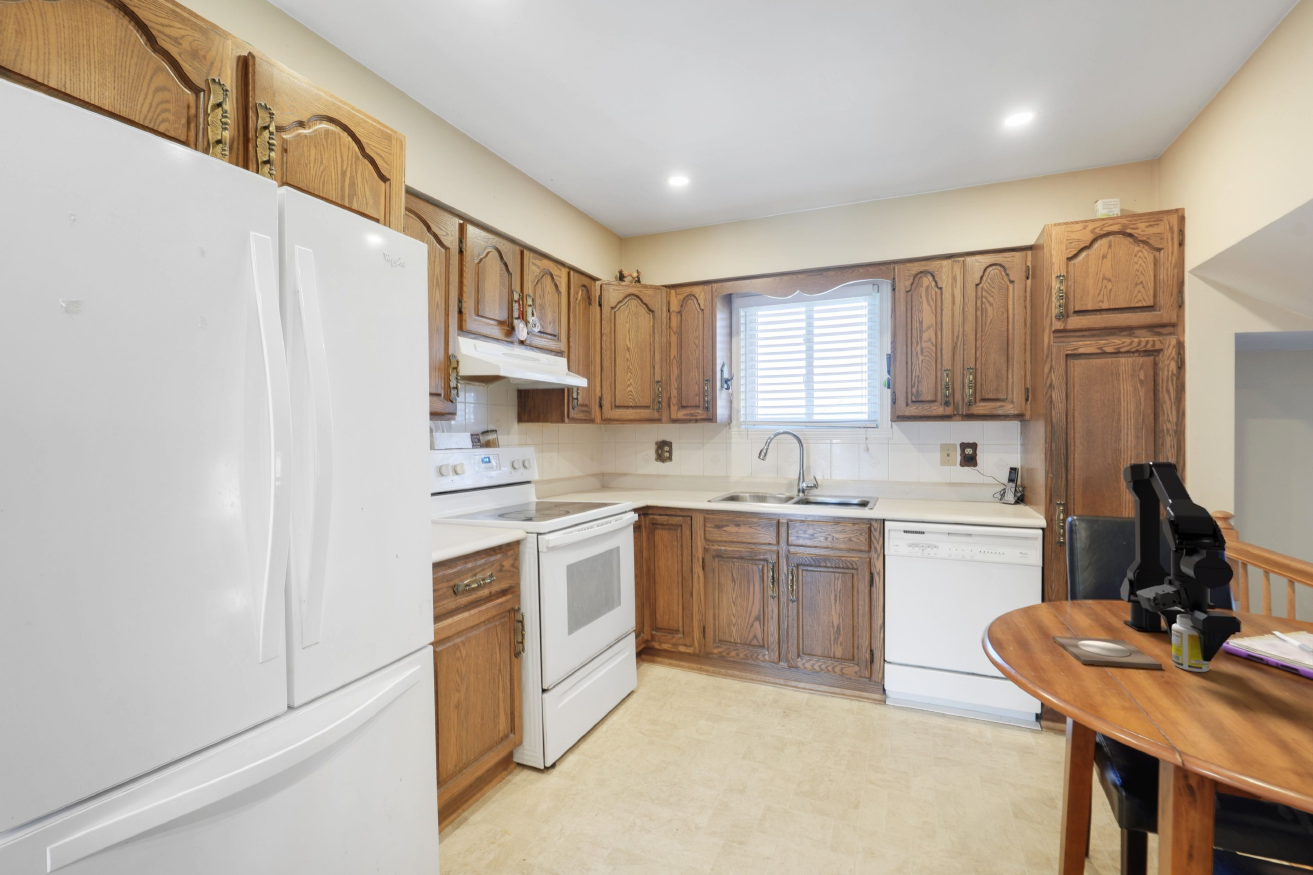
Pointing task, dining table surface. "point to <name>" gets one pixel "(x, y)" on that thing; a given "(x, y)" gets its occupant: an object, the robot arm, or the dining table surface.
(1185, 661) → the supplement bottle
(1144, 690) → the dining table surface
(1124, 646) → the board
